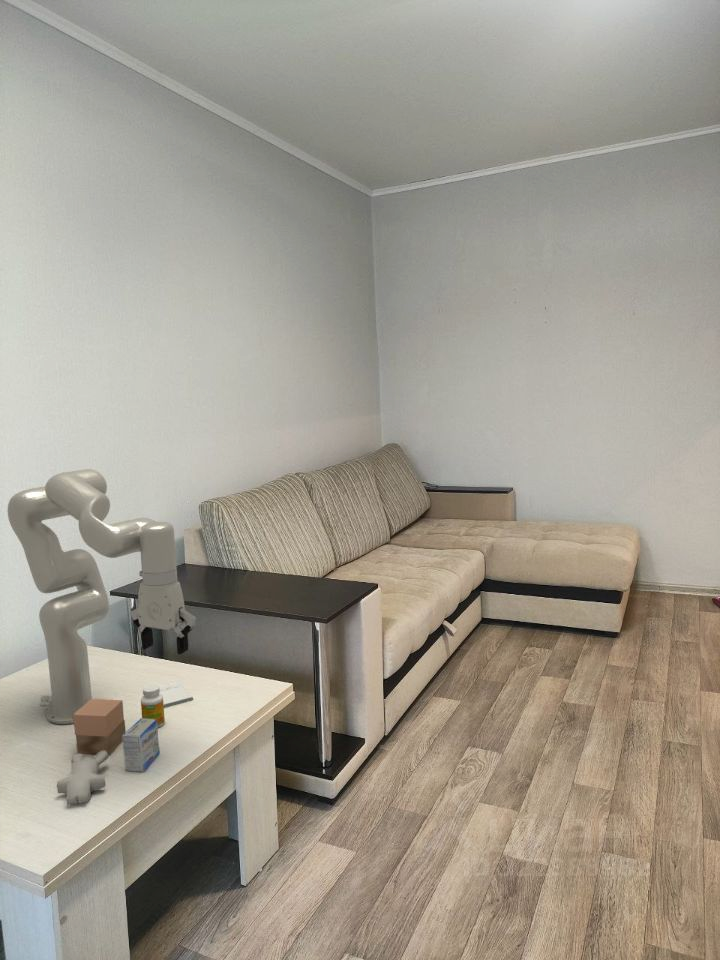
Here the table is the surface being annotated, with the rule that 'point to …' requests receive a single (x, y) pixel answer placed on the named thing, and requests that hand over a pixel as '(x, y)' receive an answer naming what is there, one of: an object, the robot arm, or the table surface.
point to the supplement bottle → (153, 704)
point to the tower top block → (98, 717)
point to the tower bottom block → (101, 741)
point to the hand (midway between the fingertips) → (165, 649)
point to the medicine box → (141, 745)
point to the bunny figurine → (83, 778)
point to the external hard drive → (174, 694)
